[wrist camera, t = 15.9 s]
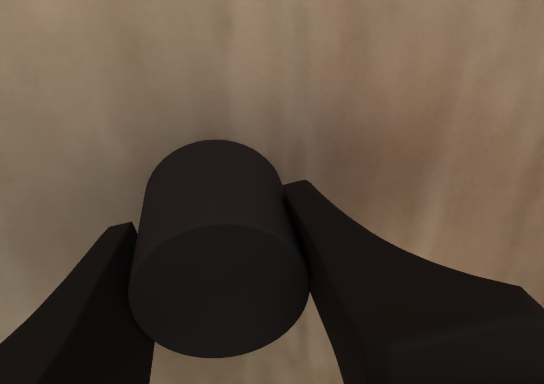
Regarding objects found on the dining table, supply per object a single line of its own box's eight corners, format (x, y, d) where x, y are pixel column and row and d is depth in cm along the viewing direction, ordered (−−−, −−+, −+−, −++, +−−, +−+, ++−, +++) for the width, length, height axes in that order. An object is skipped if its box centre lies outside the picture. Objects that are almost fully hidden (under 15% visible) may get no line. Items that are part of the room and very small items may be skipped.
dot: (169, 268, 15) (161, 375, 11) (124, 158, 13) (97, 249, 9) (293, 238, 15) (322, 336, 11) (268, 123, 13) (294, 201, 9)
